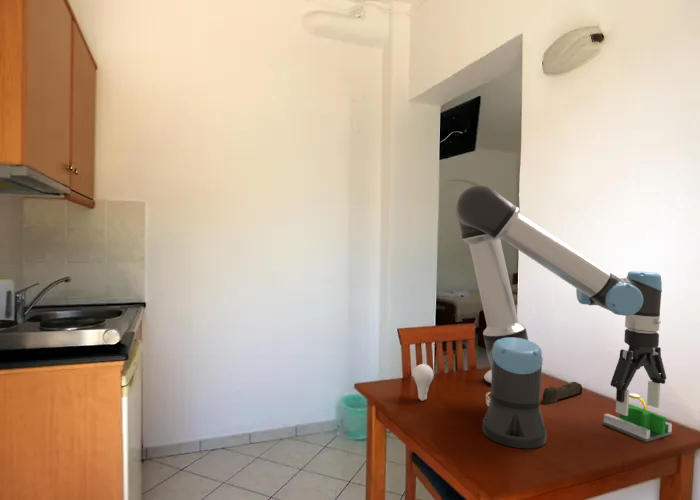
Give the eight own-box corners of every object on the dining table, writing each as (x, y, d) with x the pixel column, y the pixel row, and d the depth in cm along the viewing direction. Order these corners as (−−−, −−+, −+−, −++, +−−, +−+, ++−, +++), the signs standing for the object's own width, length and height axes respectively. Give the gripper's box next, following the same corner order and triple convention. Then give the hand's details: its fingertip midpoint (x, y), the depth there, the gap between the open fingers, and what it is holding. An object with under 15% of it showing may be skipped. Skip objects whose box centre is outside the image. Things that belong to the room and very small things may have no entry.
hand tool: (570, 392, 145) (571, 378, 144) (582, 396, 141) (583, 381, 141) (534, 402, 135) (535, 387, 135) (546, 406, 131) (546, 391, 131)
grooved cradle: (645, 442, 109) (646, 431, 109) (603, 424, 119) (604, 414, 119) (671, 434, 114) (671, 423, 114) (628, 418, 124) (629, 408, 123)
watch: (646, 417, 125) (649, 397, 125) (643, 420, 123) (646, 400, 123) (622, 409, 129) (625, 390, 129) (619, 412, 128) (622, 392, 127)
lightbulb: (411, 402, 130) (412, 366, 130) (413, 395, 136) (414, 360, 136) (432, 405, 129) (433, 368, 128) (433, 398, 135) (434, 362, 134)
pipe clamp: (613, 420, 120) (613, 403, 120) (621, 418, 122) (622, 401, 122) (656, 437, 110) (657, 418, 110) (665, 434, 112) (666, 416, 112)
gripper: (626, 336, 106) (622, 423, 107) (684, 329, 117) (680, 408, 118) (597, 330, 113) (593, 411, 114) (654, 324, 124) (650, 398, 125)
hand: (637, 410), depth 116 cm, fingers open, 13 cm apart
